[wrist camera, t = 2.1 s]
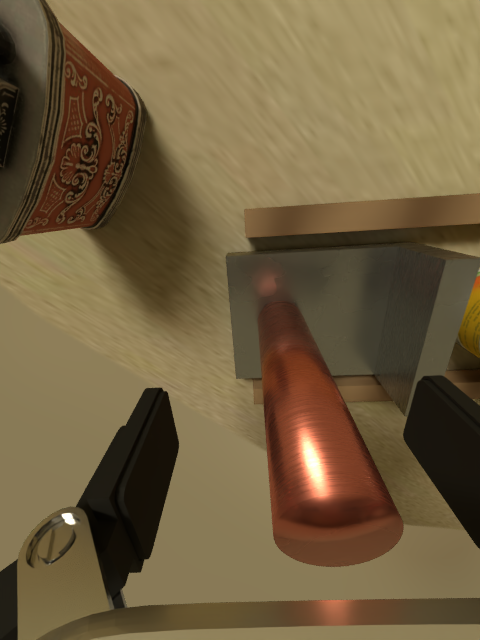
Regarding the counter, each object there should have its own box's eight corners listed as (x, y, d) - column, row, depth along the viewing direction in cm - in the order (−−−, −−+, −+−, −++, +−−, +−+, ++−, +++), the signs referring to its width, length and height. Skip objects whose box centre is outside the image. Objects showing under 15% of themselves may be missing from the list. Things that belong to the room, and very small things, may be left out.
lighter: (99, 64, 13) (-248, -265, 4) (160, 107, 14) (-17, -87, 5) (57, 209, 16) (-199, 214, 7) (108, 239, 17) (-63, 281, 8)
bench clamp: (634, 182, 14) (840, 171, 9) (532, 383, 20) (627, 442, 15) (244, 209, 16) (242, 211, 11) (253, 391, 21) (255, 448, 16)
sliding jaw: (412, 242, 16) (937, 361, 4) (386, 364, 19) (610, 622, 7) (227, 252, 16) (168, 384, 4) (236, 369, 20) (218, 614, 8)
